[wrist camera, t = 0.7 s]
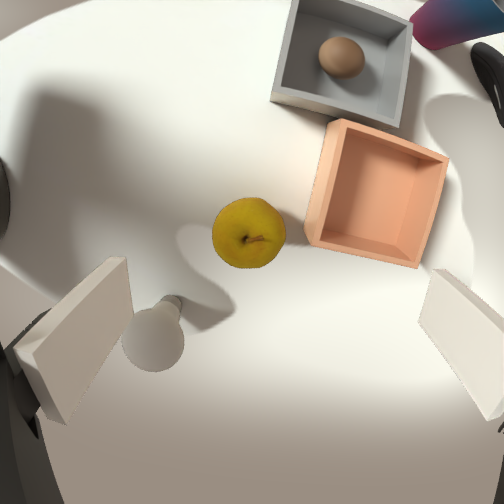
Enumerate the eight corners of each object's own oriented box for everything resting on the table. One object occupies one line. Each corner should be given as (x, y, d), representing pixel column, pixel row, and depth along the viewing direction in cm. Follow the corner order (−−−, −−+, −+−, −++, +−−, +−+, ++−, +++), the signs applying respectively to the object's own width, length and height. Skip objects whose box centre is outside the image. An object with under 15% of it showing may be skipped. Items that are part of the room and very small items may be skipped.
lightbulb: (138, 293, 34) (99, 347, 24) (176, 267, 33) (142, 320, 23) (170, 330, 36) (143, 392, 26) (208, 309, 35) (190, 371, 24)
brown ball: (311, 76, 26) (319, 66, 22) (318, 39, 24) (327, 24, 20) (353, 89, 26) (367, 81, 22) (360, 52, 24) (374, 39, 20)
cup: (457, 56, 24) (543, 32, 9) (414, 58, 24) (499, 21, 10) (437, 8, 21) (510, -35, 7) (393, 6, 22) (460, -52, 8)
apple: (292, 205, 31) (302, 225, 23) (267, 260, 33) (268, 295, 25) (232, 181, 30) (223, 193, 22) (210, 238, 32) (195, 267, 24)
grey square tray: (269, 101, 27) (271, 91, 22) (290, 7, 23) (295, -16, 18) (376, 130, 28) (398, 128, 22) (391, 38, 24) (413, 23, 19)
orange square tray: (302, 229, 31) (311, 245, 26) (327, 122, 28) (341, 118, 22) (396, 250, 32) (417, 269, 27) (422, 154, 28) (449, 158, 23)
